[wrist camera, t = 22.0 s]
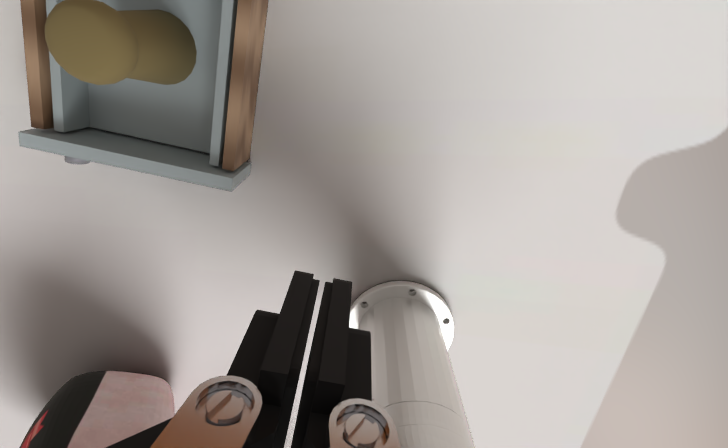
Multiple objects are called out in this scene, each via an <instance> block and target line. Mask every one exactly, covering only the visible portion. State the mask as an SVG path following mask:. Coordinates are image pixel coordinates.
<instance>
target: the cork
mask: <svg viewBox="0 0 728 448" xmlns="http://www.w3.org/2000/svg"><path fill="white" fill-rule="evenodd" d="M45 40H46V43H47V46H48V49H49V51H50V53H51V54H52V56H53V57H54V59H55V60H56V62H57V63H58V64H59V65H60V66H61V67H62V68H63V69H64V70H65V71H66V72H67V73H68V74H70V75H72V76H73V77H75V78H77V79H79V80H81V81H84V82H88V83H92V84H96V85H106V84H115V83H117V82H119V81H121V80H124V79H125V78H130V79H135V80H141V81H146V82H152V83H157V84H163V85H171V84H177V83H179V82H181V81H184V80H185V79H186V78H187V77H188V76H189V75H190V74H191V73H192V71H193V68H194V66H195V64H196V55H197V50H196V46H195V41H194V38H193V36H192V34H191V32H190V30H189V29H188V27H187V26H186V25H185V24H184V23H183V22H182V21H181V20H180V19H179V18H177V17H176V16H174V15H173V14H171V13H170V12H166V11H162V10H159V9H155V10H124V11H116V10H115V9H113V8H112V7H110V6H109V5H107V4H105V3H104V2H100V1H97V0H64V1H62V2H60V3H58V4H56V5H55V7H54V8H53V9H52V11H51V12H50V13H49V15H48V16H47V20H46V23H45Z"/></svg>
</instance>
